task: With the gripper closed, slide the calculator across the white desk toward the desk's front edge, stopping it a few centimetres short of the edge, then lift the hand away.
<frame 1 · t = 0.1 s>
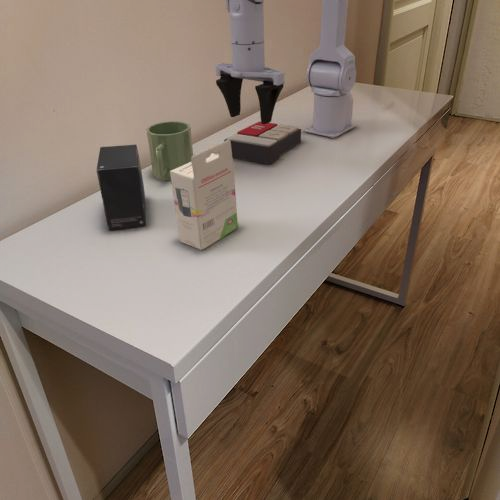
hand: (250, 119, 94), 10 cm above the table, tool pointing down, fingers open, 7 cm apart
calculator: (264, 150, 109), on the table
mug: (174, 172, 100), on the table
ink box: (208, 236, 78), on the table
small box: (128, 215, 85), on the table
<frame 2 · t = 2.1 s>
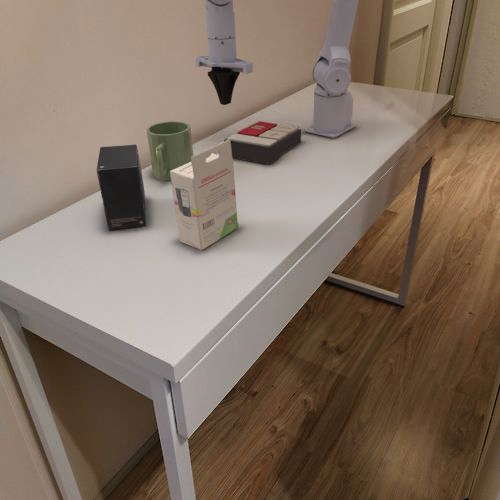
hand: (225, 103, 110), 8 cm above the table, tool pointing down, fingers closed
nothing on the table moved.
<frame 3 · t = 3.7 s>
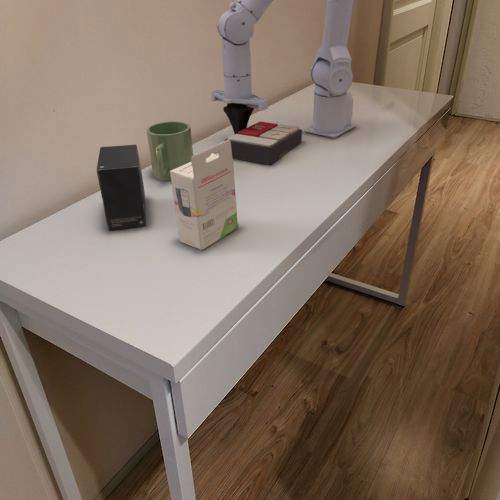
hand: (240, 137, 112), 1 cm above the table, tool pointing down, fingers closed
calculator: (264, 150, 109), on the table, touching gripper
everything else where it was.
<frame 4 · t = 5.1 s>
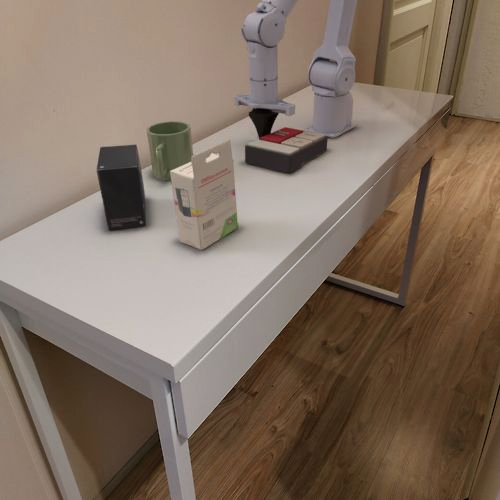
hand: (264, 143, 108), 1 cm above the table, tool pointing down, fingers closed
calculator: (287, 157, 105), on the table, touching gripper
everything else where it was.
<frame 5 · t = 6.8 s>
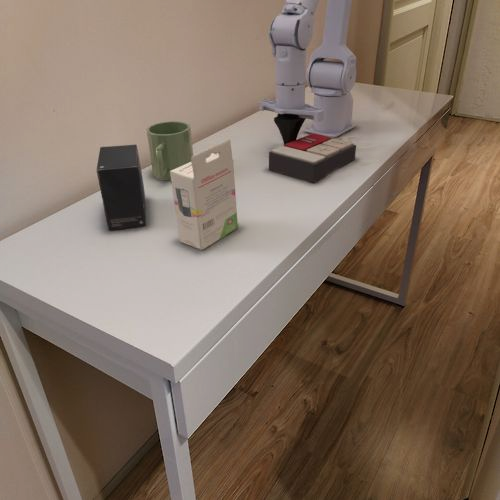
hand: (289, 149, 104), 1 cm above the table, tool pointing down, fingers closed
calculator: (312, 165, 101), on the table, touching gripper
everything else where it was.
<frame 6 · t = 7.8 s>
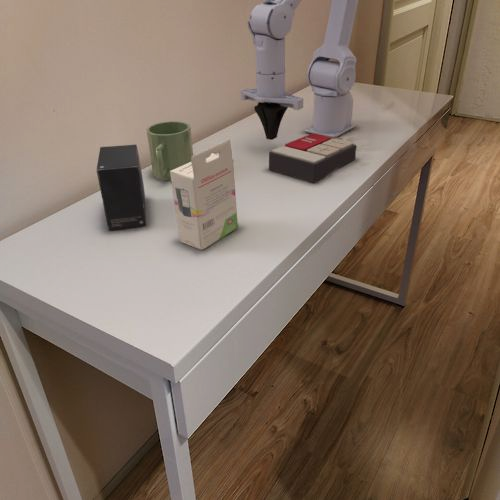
hand: (271, 138, 106), 3 cm above the table, tool pointing down, fingers closed
calculator: (312, 165, 101), on the table
everything else where it was.
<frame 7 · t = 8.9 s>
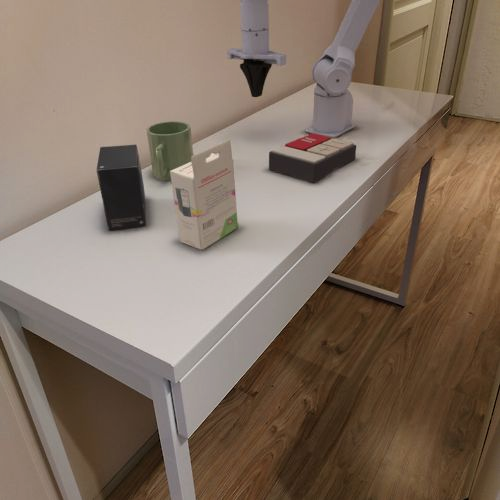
hand: (256, 96, 110), 9 cm above the table, tool pointing down, fingers closed
nothing on the table moved.
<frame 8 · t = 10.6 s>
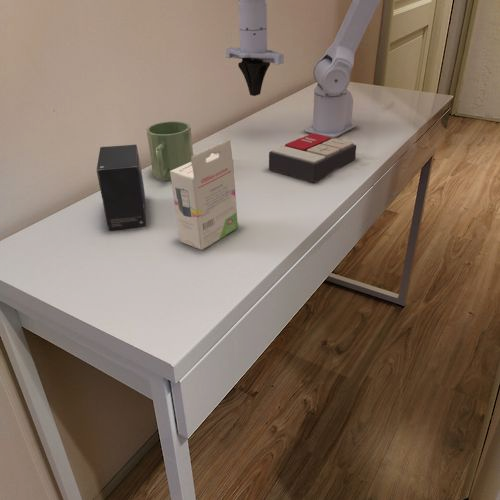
hand: (255, 94, 111), 9 cm above the table, tool pointing down, fingers closed
nothing on the table moved.
at the end: calculator inside the target area (2.1 cm from its centre), on the table; calculator tilted 0°; calculator moved 13.4 cm from its start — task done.
